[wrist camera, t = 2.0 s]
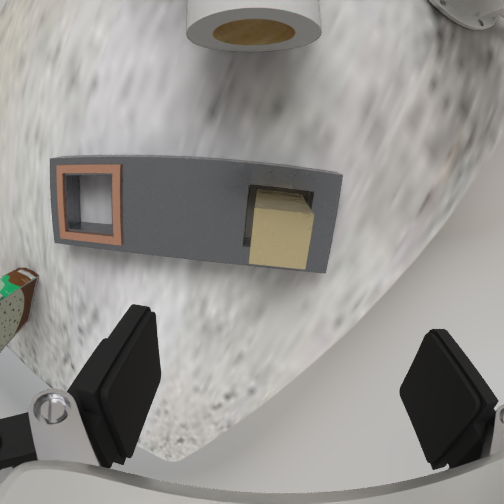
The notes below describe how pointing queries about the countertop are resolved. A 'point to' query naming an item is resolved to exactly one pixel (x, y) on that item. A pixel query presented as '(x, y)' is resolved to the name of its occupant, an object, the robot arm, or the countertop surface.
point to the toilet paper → (253, 24)
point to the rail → (185, 205)
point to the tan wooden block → (280, 230)
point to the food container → (15, 302)
